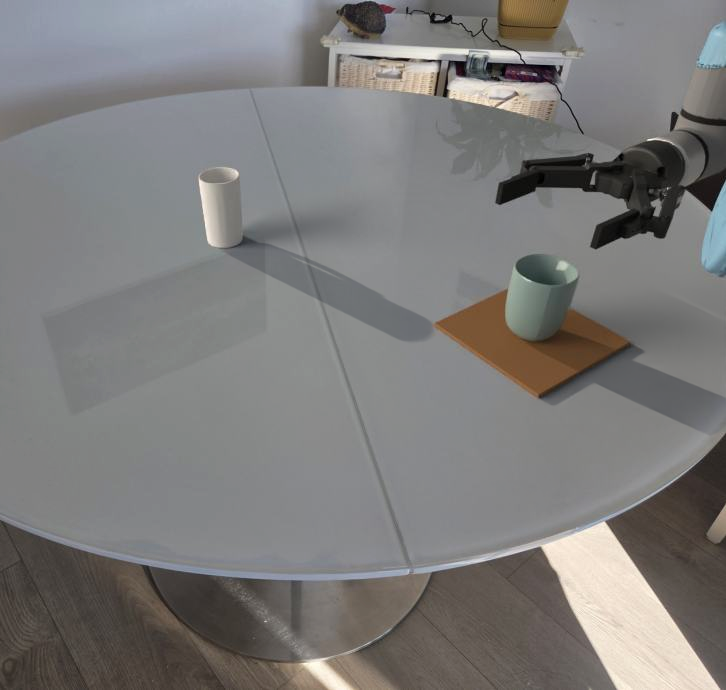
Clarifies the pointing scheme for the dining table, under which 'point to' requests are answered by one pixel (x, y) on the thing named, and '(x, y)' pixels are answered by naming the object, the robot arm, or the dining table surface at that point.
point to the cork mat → (531, 345)
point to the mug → (221, 206)
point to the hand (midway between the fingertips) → (544, 214)
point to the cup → (540, 296)
